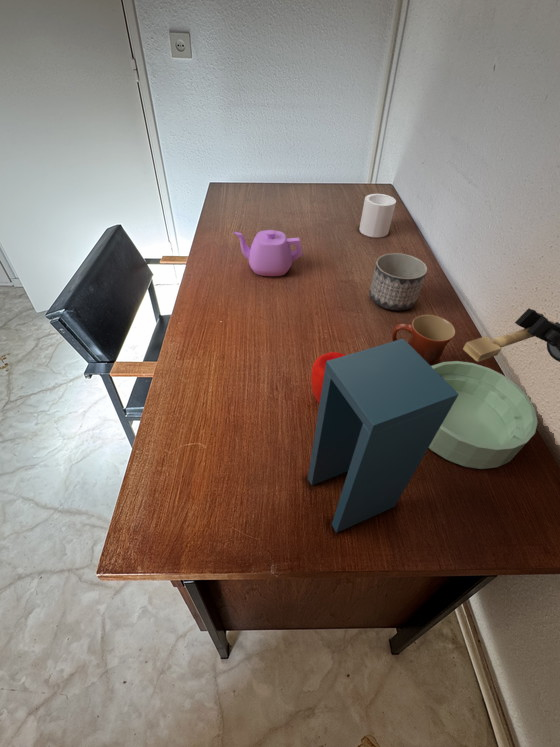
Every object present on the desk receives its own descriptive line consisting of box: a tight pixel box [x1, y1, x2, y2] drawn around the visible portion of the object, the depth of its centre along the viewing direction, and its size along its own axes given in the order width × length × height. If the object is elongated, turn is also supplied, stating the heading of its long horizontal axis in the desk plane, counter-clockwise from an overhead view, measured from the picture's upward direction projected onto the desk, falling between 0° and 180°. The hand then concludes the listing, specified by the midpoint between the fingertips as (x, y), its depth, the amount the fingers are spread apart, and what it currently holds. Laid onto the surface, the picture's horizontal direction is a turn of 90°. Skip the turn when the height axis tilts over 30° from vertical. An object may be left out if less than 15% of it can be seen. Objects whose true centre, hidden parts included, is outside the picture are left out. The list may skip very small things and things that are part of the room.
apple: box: [310, 351, 347, 404], centre depth 72 cm, size 9×9×11 cm
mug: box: [391, 314, 456, 366], centre depth 80 cm, size 12×9×10 cm
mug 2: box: [358, 193, 397, 238], centre depth 127 cm, size 14×10×11 cm
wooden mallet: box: [462, 320, 556, 363], centre depth 56 cm, size 17×3×2 cm, turn 113°
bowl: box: [428, 360, 539, 470], centre depth 70 cm, size 21×21×7 cm
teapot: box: [232, 229, 304, 277], centre depth 107 cm, size 13×20×11 cm
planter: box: [368, 252, 428, 311], centre depth 97 cm, size 13×13×10 cm
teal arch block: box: [307, 338, 459, 533], centre depth 52 cm, size 10×11×28 cm
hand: (529, 321), depth 55 cm, fingers closed on wooden mallet, 1 cm apart
